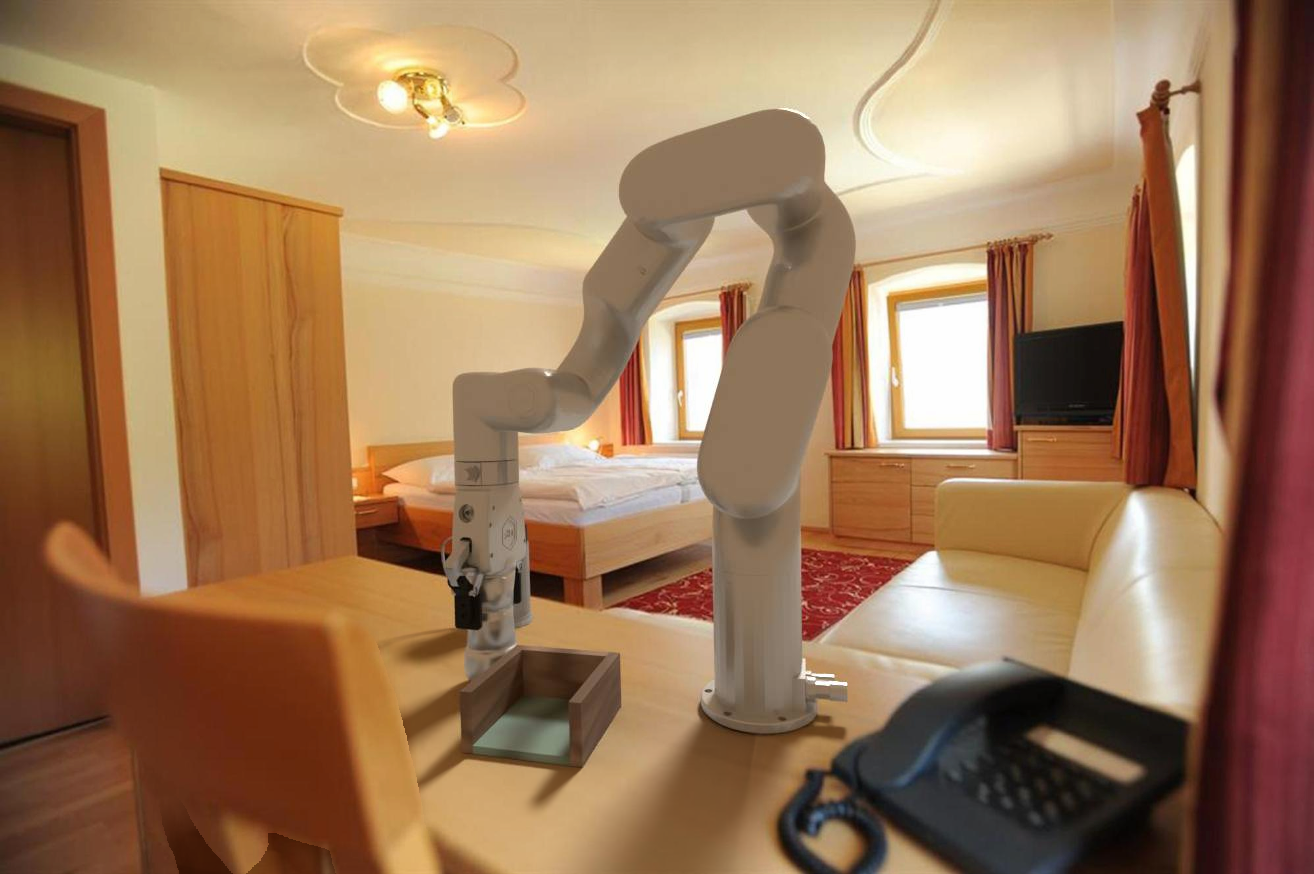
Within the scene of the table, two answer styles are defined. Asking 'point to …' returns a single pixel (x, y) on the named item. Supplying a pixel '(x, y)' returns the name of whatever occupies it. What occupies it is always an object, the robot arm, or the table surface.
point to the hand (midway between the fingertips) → (490, 614)
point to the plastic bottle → (492, 621)
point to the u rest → (541, 705)
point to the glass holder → (523, 608)
